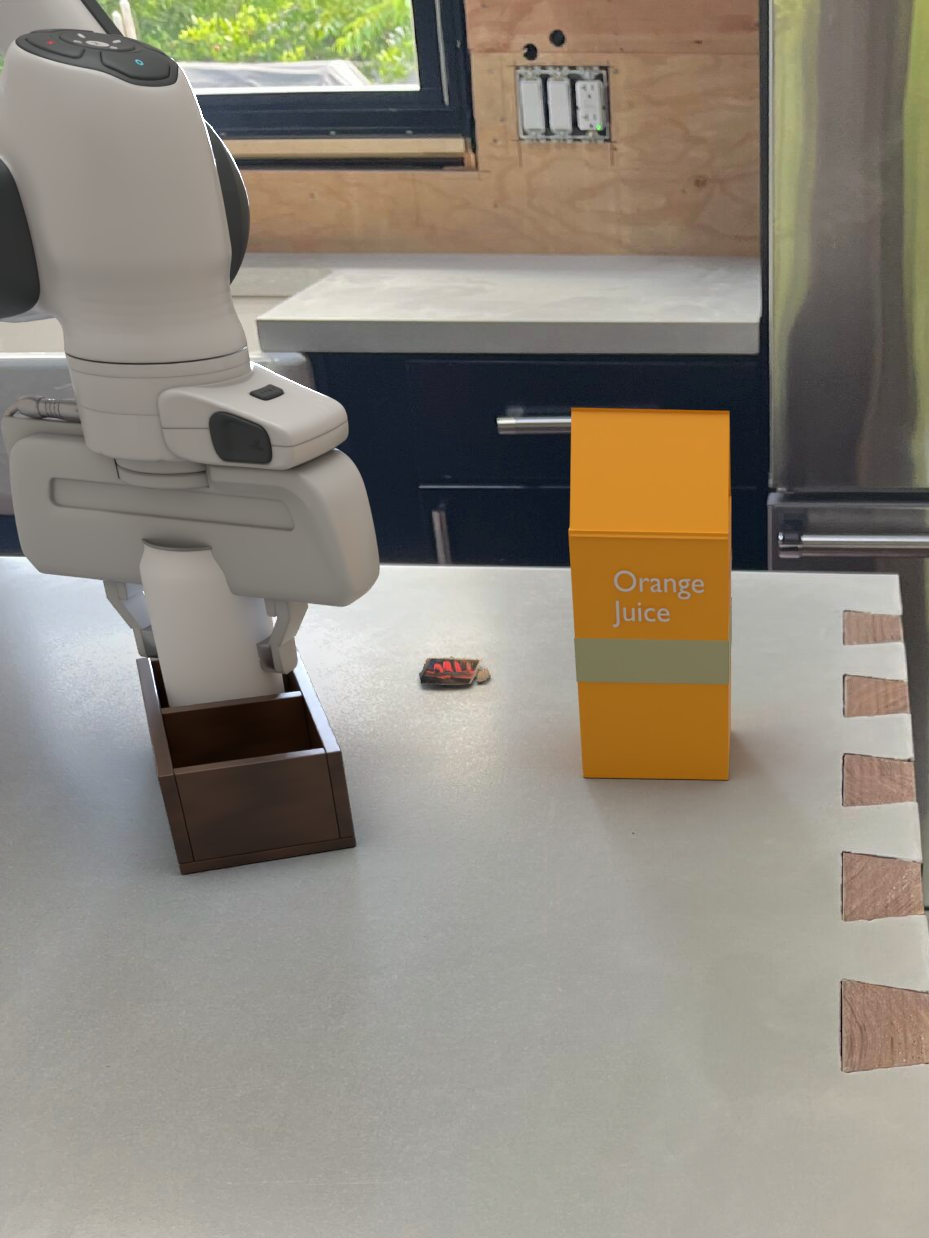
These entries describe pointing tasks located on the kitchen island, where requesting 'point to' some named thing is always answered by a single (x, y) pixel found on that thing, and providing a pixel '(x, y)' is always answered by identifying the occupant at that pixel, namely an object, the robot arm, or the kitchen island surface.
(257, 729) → the holder
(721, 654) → the orange juice
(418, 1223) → the kitchen island surface
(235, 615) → the can
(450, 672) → the matchbox
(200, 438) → the robot arm
